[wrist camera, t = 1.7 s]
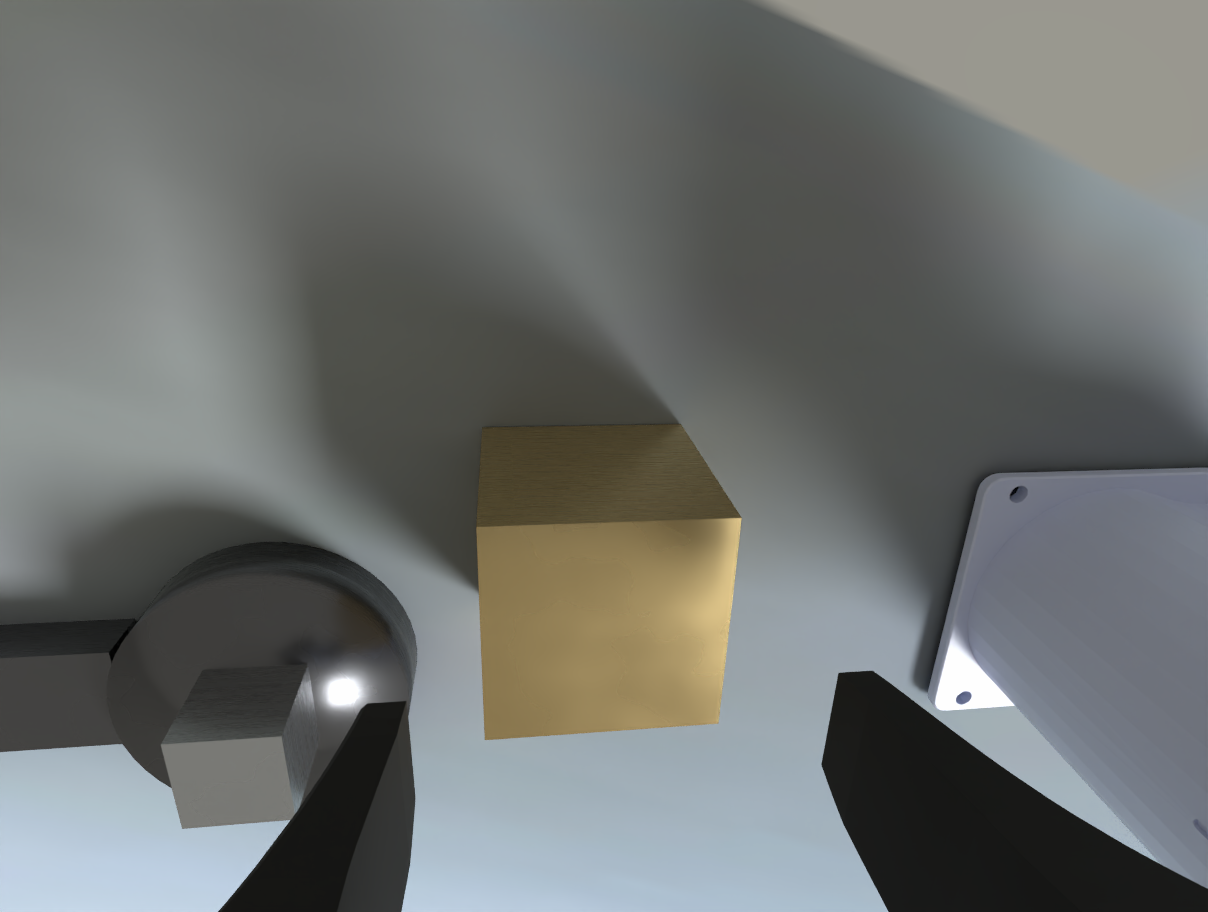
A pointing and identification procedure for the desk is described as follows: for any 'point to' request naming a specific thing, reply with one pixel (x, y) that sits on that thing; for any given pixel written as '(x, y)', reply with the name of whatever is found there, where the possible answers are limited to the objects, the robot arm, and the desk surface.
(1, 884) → the desk surface
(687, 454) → the brushed gold cube
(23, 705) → the ratchet
